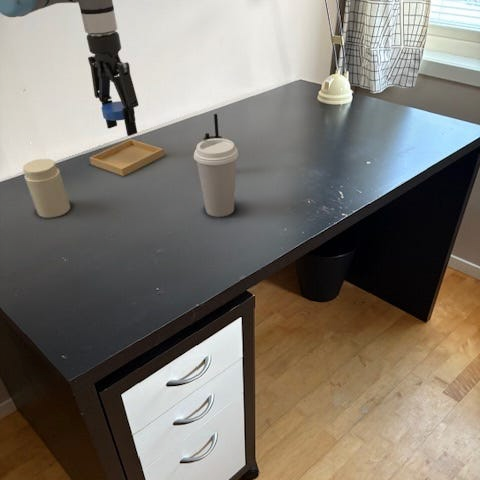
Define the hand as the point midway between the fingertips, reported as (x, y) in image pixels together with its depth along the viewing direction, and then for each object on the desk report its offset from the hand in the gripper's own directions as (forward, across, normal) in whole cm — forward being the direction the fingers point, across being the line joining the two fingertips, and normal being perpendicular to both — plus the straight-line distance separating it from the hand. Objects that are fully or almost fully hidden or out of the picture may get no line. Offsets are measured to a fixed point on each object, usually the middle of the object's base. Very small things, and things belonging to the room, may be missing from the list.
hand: (122, 130), depth 127 cm
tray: (+8, 0, 0) cm, 8 cm away
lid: (-6, 0, 0) cm, 6 cm away
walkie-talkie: (+9, -25, -9) cm, 28 cm away
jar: (+8, -8, +28) cm, 31 cm away
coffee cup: (+9, -39, +4) cm, 40 cm away
